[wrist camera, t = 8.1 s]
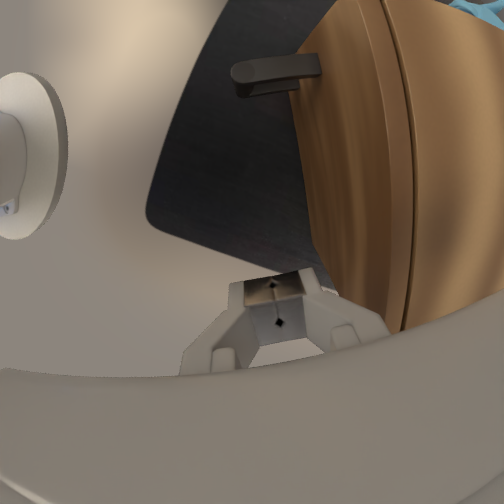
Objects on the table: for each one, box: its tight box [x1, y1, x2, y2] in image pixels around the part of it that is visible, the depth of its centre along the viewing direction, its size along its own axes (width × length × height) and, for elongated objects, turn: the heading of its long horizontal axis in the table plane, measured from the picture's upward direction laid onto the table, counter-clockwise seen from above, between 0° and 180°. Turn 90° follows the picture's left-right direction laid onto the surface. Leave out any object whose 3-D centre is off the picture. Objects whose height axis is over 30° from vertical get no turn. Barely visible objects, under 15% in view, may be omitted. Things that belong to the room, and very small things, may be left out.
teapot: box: [448, 0, 504, 31], centre depth 16 cm, size 13×14×11 cm
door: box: [231, 0, 413, 335], centre depth 21 cm, size 7×22×22 cm, turn 11°
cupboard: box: [380, 0, 504, 332], centre depth 20 cm, size 16×22×22 cm
